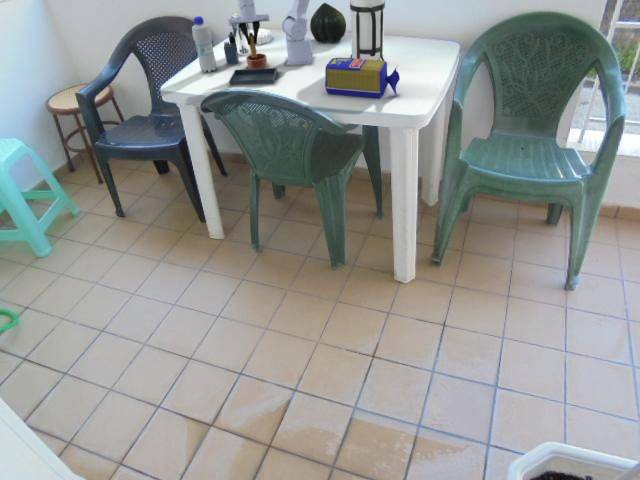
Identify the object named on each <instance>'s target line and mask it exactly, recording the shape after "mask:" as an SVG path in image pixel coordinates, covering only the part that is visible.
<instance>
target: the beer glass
mask: <svg viewBox="0 0 640 480" xmlns="http://www.w3.org/2000/svg"><path fill="white" fill-rule="evenodd" d="M236 17H240V12H234V13H231V15H230V19H232V18H236ZM250 24H251V23H247V24H246V25H247V31H248V37H249V33H250V30H251V25H250ZM231 28H232V33H233V34H235V40H236V45H237V53H238V55H240V56H241V55H245V56H246V55H251V49H250V45H248V42H247V39H246V37H245V35H244V33H243V32H242V30H241V28H240V25H232V26H231Z"/></svg>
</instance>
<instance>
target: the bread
mask: <svg viewBox="0 0 640 480" xmlns="http://www.w3.org/2000/svg"><path fill="white" fill-rule="evenodd" d="M398 66H399V64H397V65H396V67H395V68H394V69H393V71H392V73H391V74H390V75H388V62H387V61H386V60H385V61H382V60H381V59H379V60H369V59H354V58H351V57H333V58H331V59H330V61H328V63H327V64H326V65H325V73H324V74H325V76H324V77H325V78H324V81H325V82H324V88H325V92H326V93H327V94H328V95H335V96H346V97H347V96H350V97H360V98H369V99H381V98H382V97H383V95H384V94H385V92H386V90H387V89H388V85H389V86H390V88H391V89H392V91H393V93H394V94H395V96H397V95H398V94H397V85H398V83H399V81H400V80H401V77H400V74H399V72H398V71H397V68H398Z"/></svg>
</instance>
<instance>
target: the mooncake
mask: <svg viewBox="0 0 640 480" xmlns="http://www.w3.org/2000/svg"><path fill="white" fill-rule="evenodd" d="M250 33H252V34H253V35H254V31H253V28H252V29H251V28H250ZM271 41H272V32H271V30H270V29H268V28H260V27H259V31H258V35H257V44H255V46H258V45H259V46H260V45H264V44H267V43H269V42H271Z"/></svg>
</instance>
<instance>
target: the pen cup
mask: <svg viewBox="0 0 640 480" xmlns="http://www.w3.org/2000/svg"><path fill="white" fill-rule="evenodd" d="M246 66H247V69H268V67H269V65H268V58H267V55H266V54H264V53H261V52H260V53H257V57H252V55H251V54H248V55H247V56H246Z"/></svg>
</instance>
